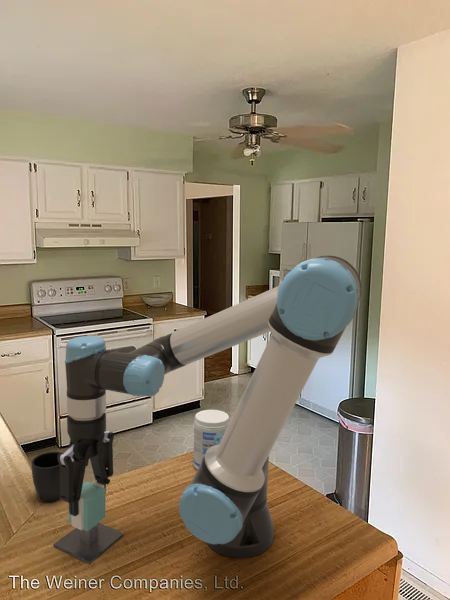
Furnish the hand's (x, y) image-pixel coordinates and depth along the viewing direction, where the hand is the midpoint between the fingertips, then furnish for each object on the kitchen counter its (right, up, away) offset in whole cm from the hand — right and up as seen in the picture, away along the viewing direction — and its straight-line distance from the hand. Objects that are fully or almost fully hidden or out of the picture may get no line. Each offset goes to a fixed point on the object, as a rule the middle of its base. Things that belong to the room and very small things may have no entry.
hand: (88, 519), depth 98 cm
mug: (-12, -2, +16) cm, 20 cm away
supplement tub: (+24, -1, +33) cm, 41 cm away
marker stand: (0, -5, +1) cm, 5 cm away
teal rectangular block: (0, 0, 0) cm, 0 cm away
